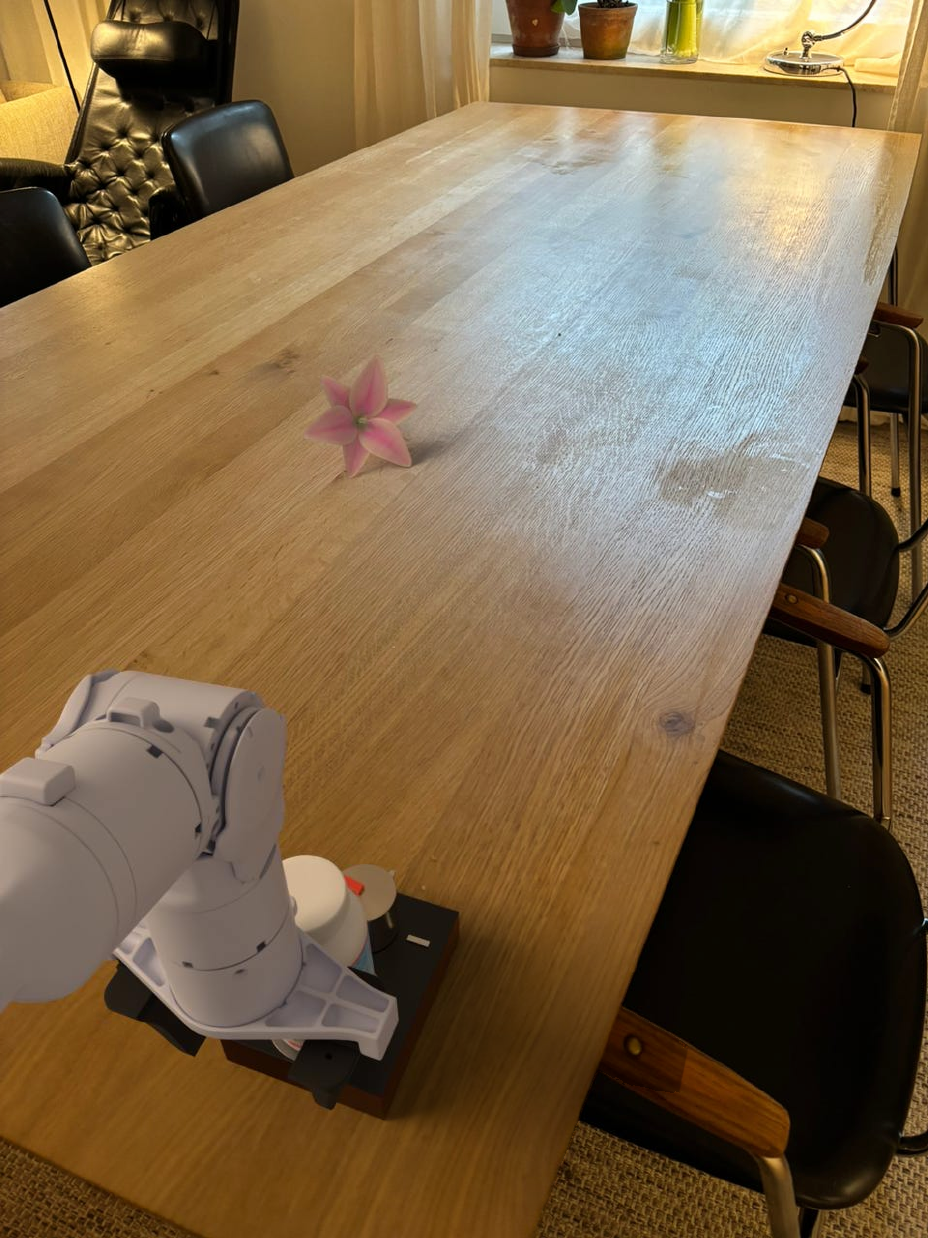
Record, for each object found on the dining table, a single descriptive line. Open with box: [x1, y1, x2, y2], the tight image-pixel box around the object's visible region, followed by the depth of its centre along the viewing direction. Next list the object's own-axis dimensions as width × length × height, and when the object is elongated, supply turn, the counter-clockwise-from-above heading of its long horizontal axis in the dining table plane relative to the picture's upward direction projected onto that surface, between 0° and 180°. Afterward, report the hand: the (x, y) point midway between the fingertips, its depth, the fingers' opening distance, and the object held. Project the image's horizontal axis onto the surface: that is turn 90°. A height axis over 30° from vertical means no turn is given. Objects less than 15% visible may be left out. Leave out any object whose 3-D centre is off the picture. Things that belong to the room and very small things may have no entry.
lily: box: [300, 354, 419, 479], centre depth 106 cm, size 12×12×10 cm
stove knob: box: [341, 863, 400, 953], centre depth 59 cm, size 4×4×4 cm
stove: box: [219, 869, 461, 1121], centre depth 60 cm, size 13×10×3 cm
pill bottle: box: [282, 854, 375, 1051], centre depth 53 cm, size 6×6×11 cm
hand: (266, 1062), depth 50 cm, fingers open, 7 cm apart
